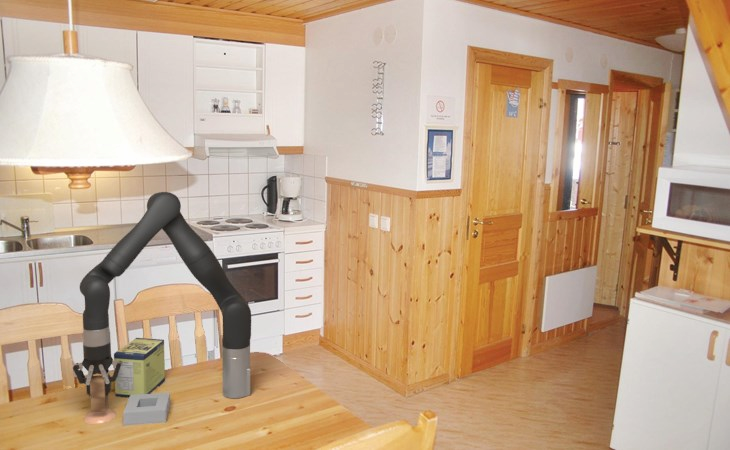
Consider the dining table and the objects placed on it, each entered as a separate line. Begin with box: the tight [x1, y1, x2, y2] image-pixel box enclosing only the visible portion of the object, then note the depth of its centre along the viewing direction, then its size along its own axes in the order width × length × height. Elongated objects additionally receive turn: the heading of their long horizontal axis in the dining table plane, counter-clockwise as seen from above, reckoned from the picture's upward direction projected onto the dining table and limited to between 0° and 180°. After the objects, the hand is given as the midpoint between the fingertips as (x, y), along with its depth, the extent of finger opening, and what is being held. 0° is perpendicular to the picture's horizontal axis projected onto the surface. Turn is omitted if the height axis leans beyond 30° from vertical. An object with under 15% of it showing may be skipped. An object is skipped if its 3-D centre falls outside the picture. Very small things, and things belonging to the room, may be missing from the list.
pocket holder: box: [122, 392, 171, 427], centre depth 177 cm, size 12×12×4 cm
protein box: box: [113, 337, 166, 399], centre depth 194 cm, size 10×16×16 cm
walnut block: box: [89, 374, 109, 412], centre depth 174 cm, size 4×4×10 cm
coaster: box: [83, 408, 117, 425], centre depth 175 cm, size 9×9×1 cm
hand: (99, 394), depth 174 cm, fingers closed on walnut block, 4 cm apart
